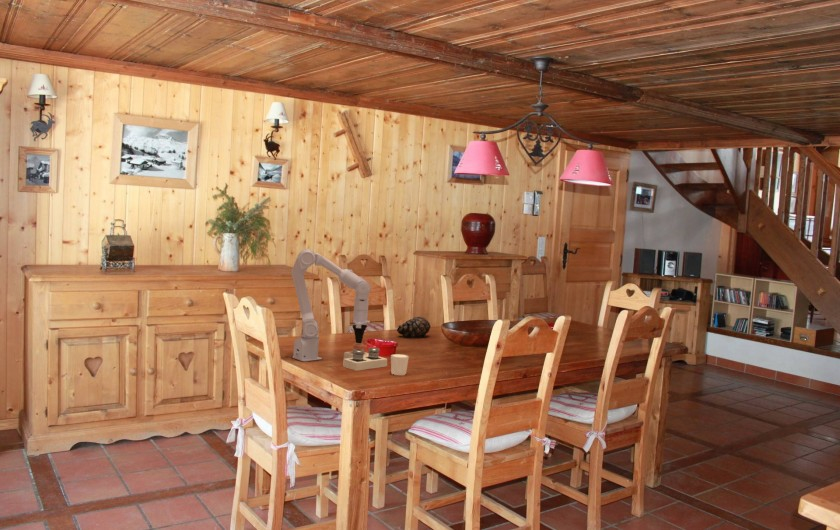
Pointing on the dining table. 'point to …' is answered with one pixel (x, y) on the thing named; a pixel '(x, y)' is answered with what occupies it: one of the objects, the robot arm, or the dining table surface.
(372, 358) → the metal plug
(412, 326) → the pine cone
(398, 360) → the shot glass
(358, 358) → the metal plug
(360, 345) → the terracotta plug
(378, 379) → the dining table surface
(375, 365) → the socket block
